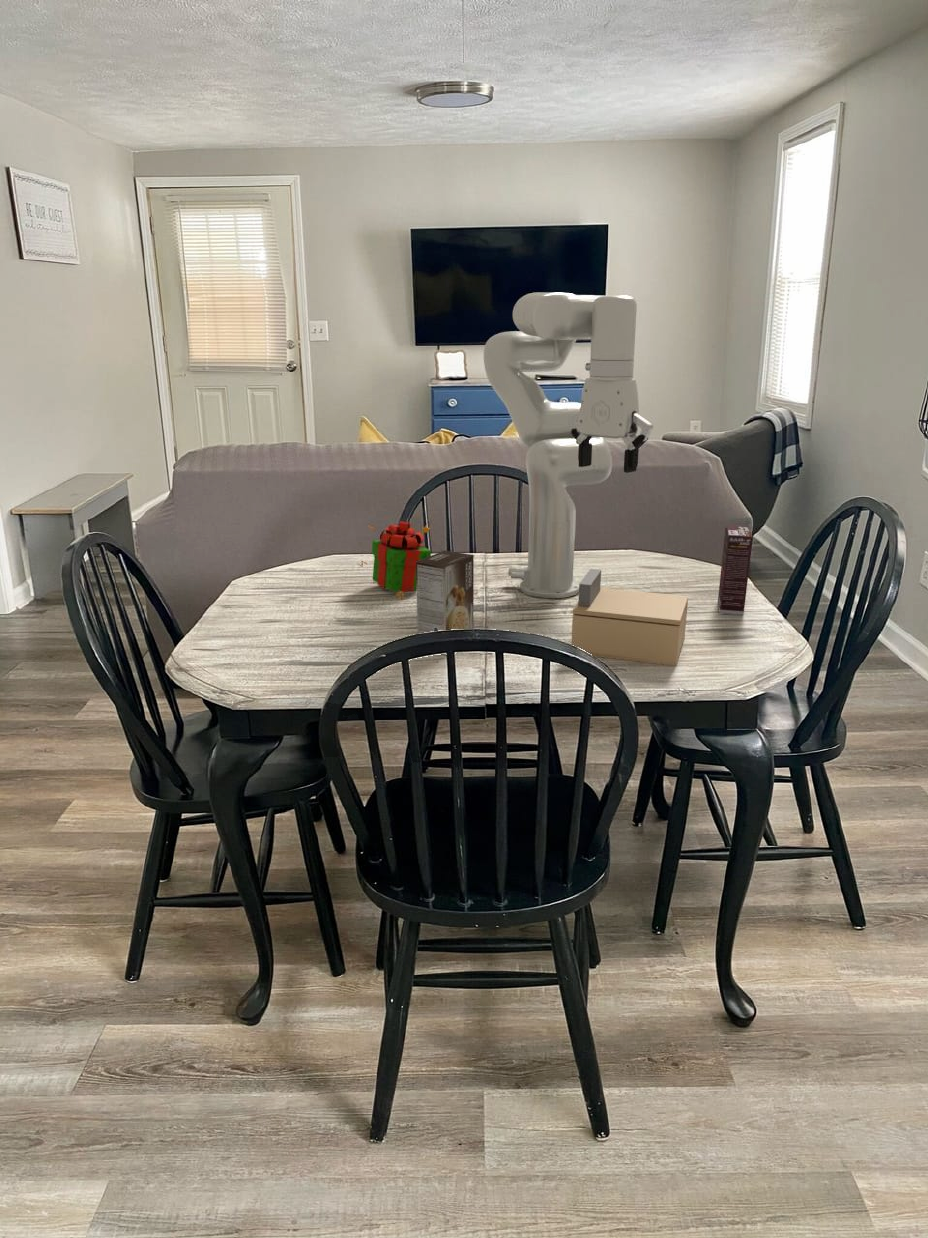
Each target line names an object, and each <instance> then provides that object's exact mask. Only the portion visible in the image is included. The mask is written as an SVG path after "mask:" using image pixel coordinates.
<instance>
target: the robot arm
mask: <svg viewBox="0 0 928 1238" xmlns="http://www.w3.org/2000/svg"><path fill="white" fill-rule="evenodd" d="M637 304H638V303H637V301H636V299H635V298H634V297H632V296H629V295H598V294H597V295H595V294H594V295H593V294H590V295H589V294H574V293H570V292H562V291H561V292H559V291H558V292H543V291H542V292H539V291H538V292H532V293H527V294H525V295H523V296H521V297H520V298H519V299H518V300H517V301H516V303H515V304H514V306H513V310H512V320H513V323H514V325H515V326H516V328H517V329H518V330H519V331H517V330H515V331H514V330H513V331H512V330H511V331H502V332H499V333H497V334H496V333H495V334H494V335H493V336H491V337H490V338H489V339H488V340H487V341H486V343H485V345H484V349H483V364H484V371H485V373H486V376H487V379H488V382H489V384H490V386H491V388H492V389H493V390H494V392H495V394H496V395H497V396H498V398H499V399H500V400H501V402H502V403H503V404H504V406H505V408H506V410H507V413H508V414H509V416H510V419H511V421H512V424H513V426H514V428H515V430H516V432H517V434H518V437H519V438H520V440H521V441H522V443H523V444H524V445H525V447H527V448H528V450H527V452H526V456H525V468H526V473H527V481H528V482H527V483H528V494H529V496H528V497H529V510H528V511H529V514H528V518H529V519H528V548H527V550H528V552H527V566H524V567H523V568H520V567H515V566H509V567H508V571H507V572H508V573H507V575H508V576H509V577H510V578H511V579H517V580H518V579H519V580H521V582H520V583H519V590H520V591H521V592H522V593H524V594H526V595H528V596H531V597H536V598H540V599H541V598H542V599H562V598H568V597H573V596H576V595H577V594H579V584H580V583H578V581H575V580H574V563H575V562H574V560H575V558H574V557H575V543H576V542H575V541H576V540H575V538H576V520H577V519H576V513H577V510H576V505H575V503H574V502H575V501H574V500H573V499H572V497H571V496H570V495H569V493H568V491H567V489H566V488H567V487H572V486H583V485H584V486H585V485H595V484H600V483H602V482H604V481H606V480H607V479H608V478H609V476H611V473H612V470H613V469H612V468H613V458H612V454H611V453H612V452H611V450H610V447H609V444H608V442H607V440H606V438H607V439H609V438H610V439H622V441H623V443H624V444H625V446H626V447H627V449H625V450H624V456H623V457H624V458H623V460H624V461H623V472H624V473H627V474H628V473H633V472H636V471H637V467H638V465H639V464H638V463H639V451H640V450H641V448H642V447H643V445H644V444H645V443H646V442H647V441H648V440H649V436H650V435H651V433H652V431H653V430H654V425H653V423H651V422H649V421H648V420H647V419H645V418H644V417H642V416H641V415H640V414H639V412H640V410H639V392H638V384H637V379H635V378H634V368H635V367H634V365H635V344H636V329H637V326H636V325H637V307H638V306H637ZM577 340H590V359H589V362H587V363H585V365H584V369H585V370H586V371H588V372H589V377H588V378H587V377H586V378H584V379H585V380H584V382H583V386H582V391H581V397H580V402H576V401H562V402H561V401H560V402H559V401H557V402H556V401H550V400H549V399H548V398H547V396H546V395H545V392H544V390H543V388H542V387H541V386H540V385H539V384H538V383H537V382H536V381H535V380H534V379H533V378H532V377H530V376H528V375H526V374H525V373H543V372H555V371H557V370H558V369H561V367H563V365H565V362H566V360H567V358H568V357H569V355H570V353H571V351H572V349H573V347H574V345H575V344H576V342H577ZM639 428H640V433H639V434H638V435H637V433H638V430H639ZM639 449H640V450H639Z"/></svg>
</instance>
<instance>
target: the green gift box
mask: <svg viewBox="0 0 928 1238" xmlns="http://www.w3.org/2000/svg"><path fill="white" fill-rule="evenodd" d="M367 528H370V529H369V532H370V531H372V529H373V533H374V532H375V527H372V526H370V525H368V526H367ZM421 530H422V532H420V531H415V529H414V528H413V527H411V523H410V522H404V521H399V523H398V525H395V524H390V525H389V526H387V527H386V528H385V529H384V530H383V531H382V532H381V533H380V535H379V539H378V540H377V539H375V540H374V539H373V540H372V547H371V550H372V551H371V554H372V555H373V556H374V557H373V568H372V569H373V570H372V580H373V582H375V583H376V584H377V585H378V586H380V587H381V588H383V589H387V590H389V591H390V592H394V591H398V592H397V593H396V597H398V598H399V599H403V598H404V595H405V593H404V592H413V591H414V590H417V588H416V562H417V561H419V560H422V559H424V558H427V557H429V556H432V550H431V549H429V548H426V546H425V545H423V542H424V541H425V540H424V535H423V534H425V533H426V534H429V531H430V530H431V528H430V527H428V525H425V526H424V527H422V528H421ZM363 563H364V564H365V565H368V562H366V561H364V560H361V564H360V563H357V565H358V566H359V567H361V568H363V566H364V565H363ZM401 594H402V596H401Z"/></svg>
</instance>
